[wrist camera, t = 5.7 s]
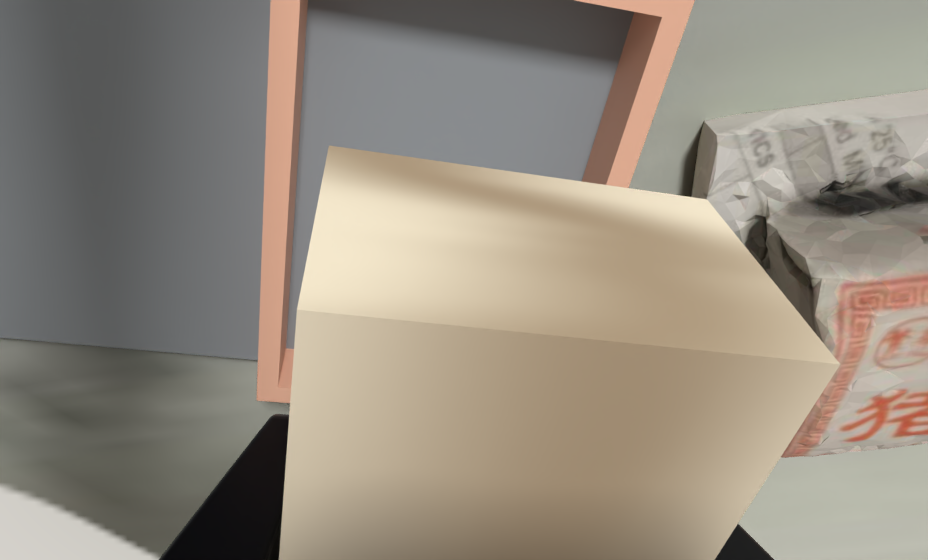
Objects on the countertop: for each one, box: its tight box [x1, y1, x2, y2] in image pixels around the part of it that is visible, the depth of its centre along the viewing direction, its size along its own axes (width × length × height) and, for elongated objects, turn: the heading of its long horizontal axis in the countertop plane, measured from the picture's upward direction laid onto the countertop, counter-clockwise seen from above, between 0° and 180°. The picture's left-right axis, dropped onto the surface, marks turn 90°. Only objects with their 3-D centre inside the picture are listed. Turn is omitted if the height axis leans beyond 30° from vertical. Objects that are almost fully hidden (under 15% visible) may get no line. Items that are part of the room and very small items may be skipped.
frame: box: [257, 0, 695, 403], centre depth 15 cm, size 11×8×2 cm
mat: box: [0, 0, 634, 360], centre depth 14 cm, size 18×15×1 cm
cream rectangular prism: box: [279, 146, 840, 560], centre depth 9 cm, size 4×8×3 cm, turn 169°
